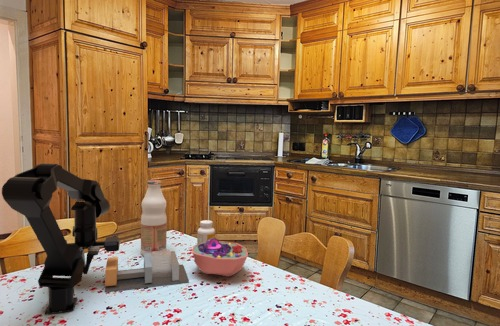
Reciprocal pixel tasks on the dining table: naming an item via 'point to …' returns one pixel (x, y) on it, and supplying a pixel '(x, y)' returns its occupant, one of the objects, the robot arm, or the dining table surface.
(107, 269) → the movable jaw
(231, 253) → the cell model
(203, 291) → the dining table surface
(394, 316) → the dining table surface
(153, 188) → the fruit juice
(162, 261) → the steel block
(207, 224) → the supplement bottle
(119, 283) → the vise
